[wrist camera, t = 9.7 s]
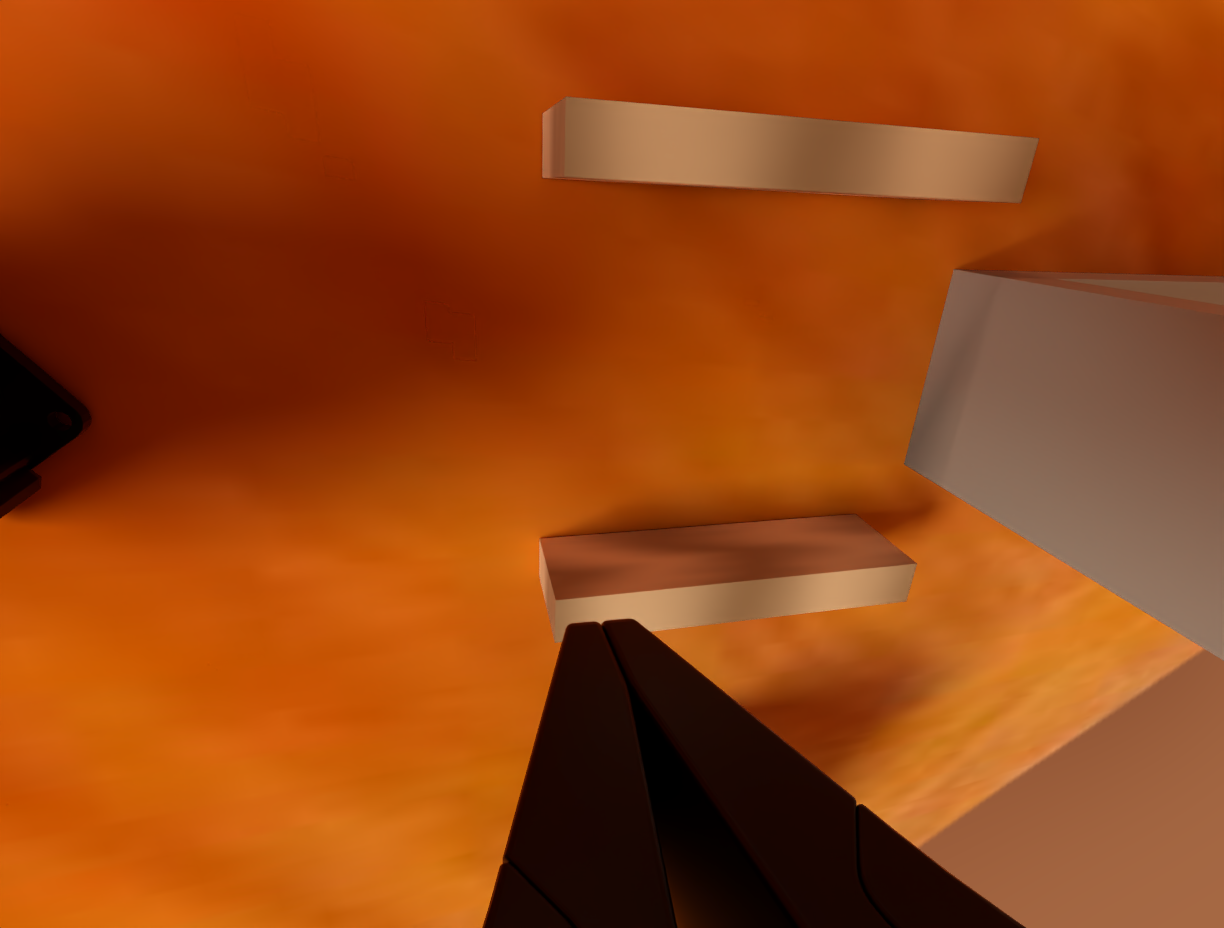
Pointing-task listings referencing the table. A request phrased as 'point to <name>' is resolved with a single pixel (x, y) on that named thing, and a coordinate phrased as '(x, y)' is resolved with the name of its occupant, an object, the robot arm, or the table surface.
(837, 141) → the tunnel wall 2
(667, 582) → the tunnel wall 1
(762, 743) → the robot arm
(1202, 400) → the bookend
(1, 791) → the table surface
